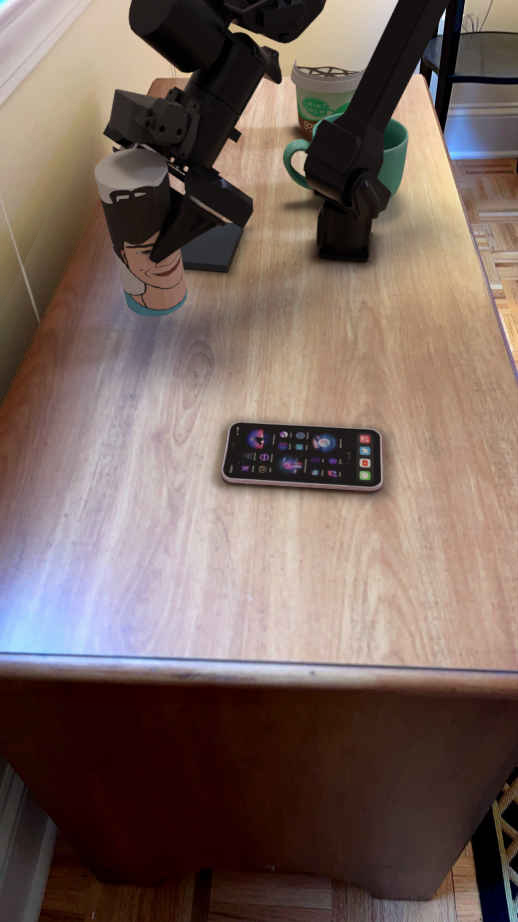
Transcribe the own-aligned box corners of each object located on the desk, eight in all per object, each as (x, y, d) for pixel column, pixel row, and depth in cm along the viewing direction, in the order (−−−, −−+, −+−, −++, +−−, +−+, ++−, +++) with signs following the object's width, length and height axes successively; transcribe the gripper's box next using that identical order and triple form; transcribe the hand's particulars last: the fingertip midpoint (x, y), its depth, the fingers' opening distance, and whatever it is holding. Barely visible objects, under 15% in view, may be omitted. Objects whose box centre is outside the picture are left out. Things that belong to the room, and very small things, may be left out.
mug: (392, 175, 102) (400, 109, 95) (406, 220, 94) (417, 151, 87) (280, 180, 102) (280, 113, 95) (285, 225, 94) (285, 156, 86)
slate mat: (243, 230, 93) (243, 223, 92) (227, 272, 87) (227, 265, 86) (158, 222, 95) (157, 216, 94) (136, 263, 88) (135, 257, 88)
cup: (138, 324, 73) (107, 196, 61) (117, 288, 77) (85, 160, 65) (196, 304, 74) (178, 175, 62) (174, 269, 78) (152, 141, 66)
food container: (281, 141, 110) (281, 74, 102) (291, 125, 114) (292, 58, 106) (357, 150, 107) (363, 81, 100) (365, 133, 111) (371, 65, 104)
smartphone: (383, 488, 63) (220, 478, 64) (382, 492, 63) (220, 482, 64) (381, 429, 68) (230, 420, 69) (380, 433, 68) (230, 424, 69)
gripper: (100, 21, 64) (25, 176, 68) (216, 82, 54) (121, 259, 58) (181, 87, 72) (111, 220, 77) (294, 150, 63) (206, 298, 67)
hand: (134, 246), depth 69 cm, fingers closed on cup, 7 cm apart
